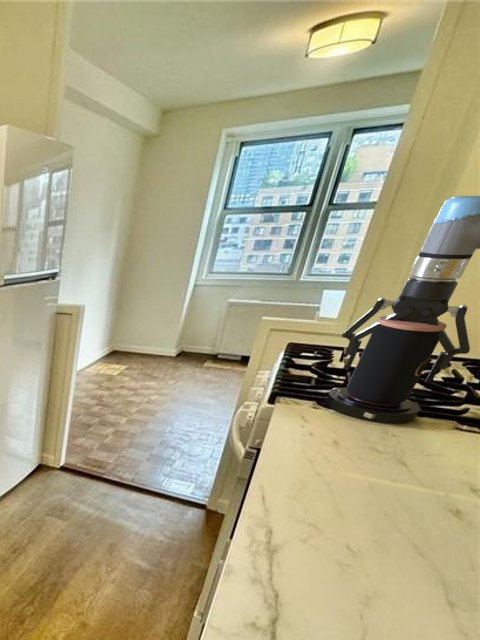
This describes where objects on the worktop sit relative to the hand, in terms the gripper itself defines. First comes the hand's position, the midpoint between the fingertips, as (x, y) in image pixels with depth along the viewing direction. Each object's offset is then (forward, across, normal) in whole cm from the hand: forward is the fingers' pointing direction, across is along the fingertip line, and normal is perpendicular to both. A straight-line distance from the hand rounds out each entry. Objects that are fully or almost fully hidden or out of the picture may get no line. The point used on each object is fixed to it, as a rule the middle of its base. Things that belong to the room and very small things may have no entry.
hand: (385, 375), depth 111 cm
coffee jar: (+6, 0, 0) cm, 6 cm away
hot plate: (+9, 0, 0) cm, 9 cm away
